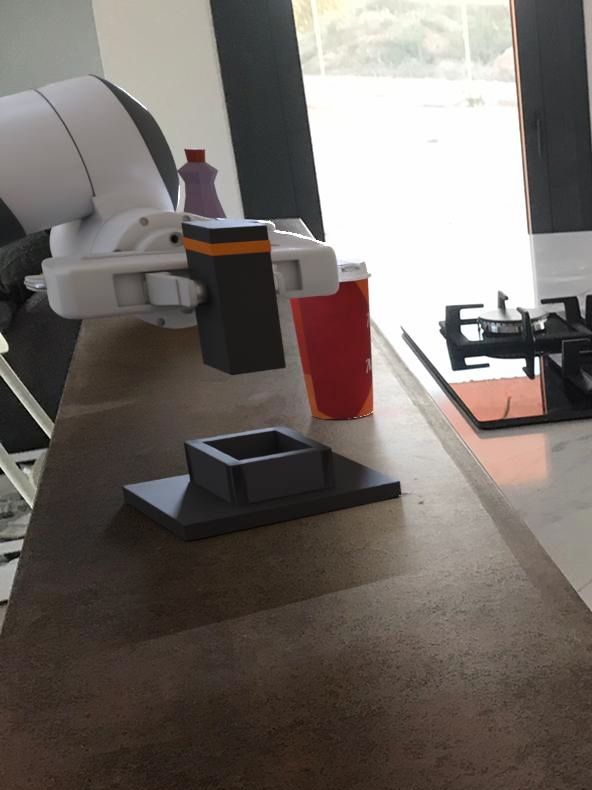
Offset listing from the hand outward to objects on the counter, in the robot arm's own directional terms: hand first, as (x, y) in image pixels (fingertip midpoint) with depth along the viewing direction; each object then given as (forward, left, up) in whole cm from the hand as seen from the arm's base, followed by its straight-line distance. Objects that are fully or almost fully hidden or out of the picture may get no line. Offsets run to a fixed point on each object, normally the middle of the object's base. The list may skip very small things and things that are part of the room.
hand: (239, 290), depth 90 cm
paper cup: (0, +27, -16) cm, 31 cm away
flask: (-31, +94, -16) cm, 101 cm away
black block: (-1, +1, -5) cm, 6 cm away
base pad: (0, 0, -15) cm, 16 cm away
